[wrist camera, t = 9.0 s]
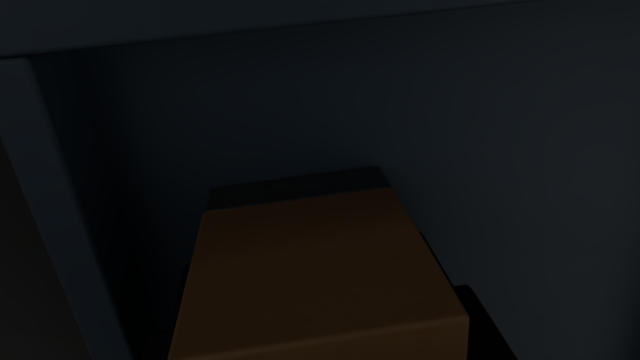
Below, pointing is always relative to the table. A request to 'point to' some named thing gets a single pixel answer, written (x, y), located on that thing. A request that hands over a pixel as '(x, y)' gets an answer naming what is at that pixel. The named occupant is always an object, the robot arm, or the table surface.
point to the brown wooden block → (315, 276)
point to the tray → (337, 145)
